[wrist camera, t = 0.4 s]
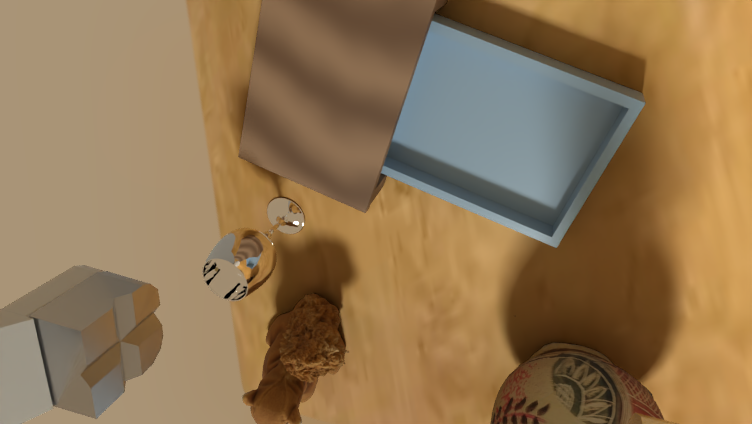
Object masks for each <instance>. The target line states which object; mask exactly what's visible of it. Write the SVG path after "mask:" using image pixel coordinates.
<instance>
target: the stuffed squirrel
mask: <svg viewBox="0 0 752 424" xmlns="http://www.w3.org/2000/svg"><path fill="white" fill-rule="evenodd" d="M339 313H340V312H339V311H338V309H337V307H336V306H334V305H332V304H330V303H329V302H328V301H326V299H324V298H321V297H320V296H319V295H317V294H311V295H308V294H307V295H305V297H304V298H303V299H301V300H300V301H299V302H298V303H297V304H296V307H294V310H292V311H290V312H288V313H285V314H281V315H279V316H278V317H277V318H276V319H275V321H274V322H273V323H272V325H271V326H270V328H269V331H268V333H267V336H266V343H267V344H268V345H270V348H269V349H268V351H267V353H266V356H265V360H264V365H263V374H262V378H263V379H262V380H261V382H260V384H259V387H258V389H257V390H252V391H250V392H247V393H245V394H244V395H243V396H242V400H243V402H244V403H245V404H246V405H248V406H251V414H252V416H253V418H254V420H255V421H256V423H257V424H288V423H290V424H301V423H302V420H301V417H300V413H299V409H298V407H299V404H300V402H301V403H302V402H305V401H307V400H308V399H309V398H310V397H311V396H312V395H313V393H314V390H315V388H316V384H317V382H318V377H319V376H325V375H326V374H327V373H329V374H336V373H337V372H338V370H339V369H340V367H341V366H343V364H345V363H344V354H345V353H349V351H347V350H345V345H344V342H343V340H342V338H341V335H340V334H339V332H338V330H337V329H338V327H339V326H338V325H339V323H340V320H341V319H340V318H339V316H338V315H339Z"/></svg>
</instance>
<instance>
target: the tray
mask: <svg viewBox="0 0 752 424" xmlns="http://www.w3.org/2000/svg"><path fill="white" fill-rule="evenodd" d="M644 105H645V100H644V97H643V94H642V93H641V92H638V91H636V90H633V89H630V88H628V87H625V86H623V85H620V84H617V83H615V82H612V81H610V80H607V79H604V78H602V77H599V76H597V75H594V74H591V73H589V72H586V71H584V70H581V69H578V68H576V67H573V66H570V65H568V64H565V63H563V62H560V61H557V60H555V59H552V58H550V57H547V56H544V55H542V54H539V53H537V52H534V51H531V50H529V49H526V48H524V47H521V46H518V45H516V44H513V43H511V42H508V41H505V40H503V39H500V38H498V37H495V36H492V35H490V34H487V33H485V32H482V31H479V30H477V29H474V28H472V27H469V26H466V25H464V24H461V23H459V22H456V21H453V20H451V19H448V18H445V17H443V16H440V15H438V14H435V13H434V16H433V19H432V22H431V25H430V28H429V31H428V34H427V37H426V40H425V43H424V46H423V49H422V52H421V55H420V58H419V61H418V64H417V67H416V70H415V73H414V76H413V79H412V82H411V85H410V88H409V91H408V94H407V97H406V100H405V103H404V106H403V108H402V111H401V114H400V117H399V120H398V123H397V126H396V129H395V132H394V135H393V138H392V141H391V144H390V147H389V150H388V153H387V156H386V159H385V162H384V165H383V168H382V171H381V173H382V174H385V175H387V176H389V177H392V178H394V179H396V180H399V181H401V182H403V183H406V184H408V185H410V186H413V187H415V188H417V189H420V190H422V191H424V192H427V193H429V194H431V195H434V196H436V197H438V198H441V199H443V200H445V201H448V202H450V203H452V204H455V205H457V206H459V207H462V208H464V209H466V210H469V211H471V212H473V213H476V214H478V215H480V216H483V217H485V218H487V219H490V220H492V221H494V222H497V223H499V224H501V225H504V226H506V227H508V228H511V229H513V230H515V231H518V232H520V233H522V234H525V235H527V236H529V237H532V238H534V239H536V240H539V241H541V242H543V243H546V244H548V245H550V246H553V247H555V248H557V246H558V245H559V243H560V241H561V240H562V238H563V237H564V235H565V233H566V232H567V230H568V228H569V227H570V225H571V224H572V222H573V220H574V219H575V217H576V215H577V214H578V212H579V211H580V209H581V207H582V206H583V204H584V202H585V201H586V199H587V198H588V196H589V194H590V193H591V191H592V189H593V188H594V186H595V185H596V183H597V181H598V180H599V178H600V176H601V175H602V173H603V172H604V170H605V168H606V167H607V165H608V163H609V162H610V160H611V159H612V157H613V155H614V154H615V152H616V150H617V149H618V147H619V146H620V144H621V142H622V141H623V139H624V137H625V136H626V134H627V133H628V131H629V129H630V128H631V126H632V124H633V123H634V121H635V120H636V118H637V116H638V115H639V113H640V111H641V110H642V108H643V107H644Z"/></svg>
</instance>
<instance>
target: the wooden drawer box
mask: <svg viewBox="0 0 752 424" xmlns="http://www.w3.org/2000/svg"><path fill="white" fill-rule="evenodd" d="M446 3H447V0H262V5H261V12H260V18H259V25H258V31H257V38H256V45H255V51H254V58H253V64H252V71H251V77H250V84H249V91H248V97H247V104H246V110H245V117H244V124H243V130H242V137H241V143H240V150H239V156H238V157H239V158H241V159H244V160H246V161H248V162H251V163H253V164H255V165H257V166H260V167H262V168H264V169H266V170H269V171H271V172H273V173H276V174H278V175H280V176H282V177H285V178H287V179H289V180H291V181H294V182H296V183H298V184H301V185H303V186H305V187H307V188H310V189H312V190H314V191H316V192H319V193H321V194H323V195H326V196H328V197H330V198H332V199H335V200H337V201H339V202H341V203H344V204H346V205H348V206H351V207H353V208H355V209H357V210H360V211H362V212H364V213H366V212H367V210H368V209H369V207H370V204H371V203H372V201H373V200H374V199H375V197H376V196H377V194H378V193H379V191H380V190H381V189H382V187H383V186H384V183H385V180H386V177H387V175H385V174H382V173H381V171H382V168H383V165H384V162H385V159H386V156H387V153H388V150H389V147H390V144H391V141H392V138H393V135H394V132H395V129H396V126H397V123H398V120H399V117H400V114H401V111H402V108H403V106H404V103H405V100H406V97H407V94H408V91H409V88H410V85H411V82H412V79H413V76H414V73H415V70H416V67H417V64H418V61H419V58H420V55H421V52H422V49H423V46H424V43H425V40H426V37H427V34H428V31H429V28H430V25H431V22H432V19H433V16H434V13H435V11H437V10H438V9H439V8H441V7H442V6H444V5H445V4H446Z"/></svg>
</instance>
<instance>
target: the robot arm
mask: <svg viewBox="0 0 752 424" xmlns="http://www.w3.org/2000/svg"><path fill="white" fill-rule="evenodd" d="M159 306H160V300H159V294H158V289H157V288H155V287H154V286H152V285H151V284H149V283H145V282H142V281H138V280H135V279H132V278H128V277H125V276H121V275H117V274H114V273H111V272H108V271H103V270H99V269H95V268H92V267H89V266H85V265H82V266H73V267H72V268H70V269H68V270H67V271H65V272H63V273H62V274H60V275H58V276H56V277H55V278H53V279H52V280H50V281H48V282H46V283H45V284H43V285H41V286H40V287H38V288H36V289H35V290H33V291H31V292H29V293H28V294H26V295H24V296H23V297H21V298H19V299H18V300H16V301H14V302H12V303H11V304H9V305H7V306H6V307H4V308H3V309H0V424H22V423H24V422H26V421H28V420H30V419H32V418H35V417H37V416H39V415H41V414H43V413H45V412H47V411H49V410H51V409H53V406H55V407H59V408H62V409H65V410H68V411H72V412H75V413H78V414H82V415H85V416H88V417H92V418H95V419H97V418H98V417H99V416H100V415H101V414H102V413H103V412H104V411H105V410H106V409H107V408H108V407H109V406H110V405H111V404H112V403H113V402H114V401H115V400H117V399H118V398H119V397H120V396H121V395H122V394H123V393H124V391H125V383H126V381H127V380H130V379H132V378H135V377H138V376H140V375H142V374H143V373H144V372H145V371H146V370H147V369H148V368H149V367H150V366H151V365H152V364H153V363H154V361H155V359H156V357H157V355H158V353H159V351H160V349H161V345H162V339H163V330H162V324H161V323H160V321H159V320H158V318H157V317H156V315H155V314H154V312H155V311H156V309H157V308H158V307H159ZM628 424H678V423H674V422H670V421H666V420H662V419H658V418H654V417H651V416H647V415H643V414H639V413H634V414H633V415H632V416H631V418H630V419H629V421H628Z"/></svg>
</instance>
